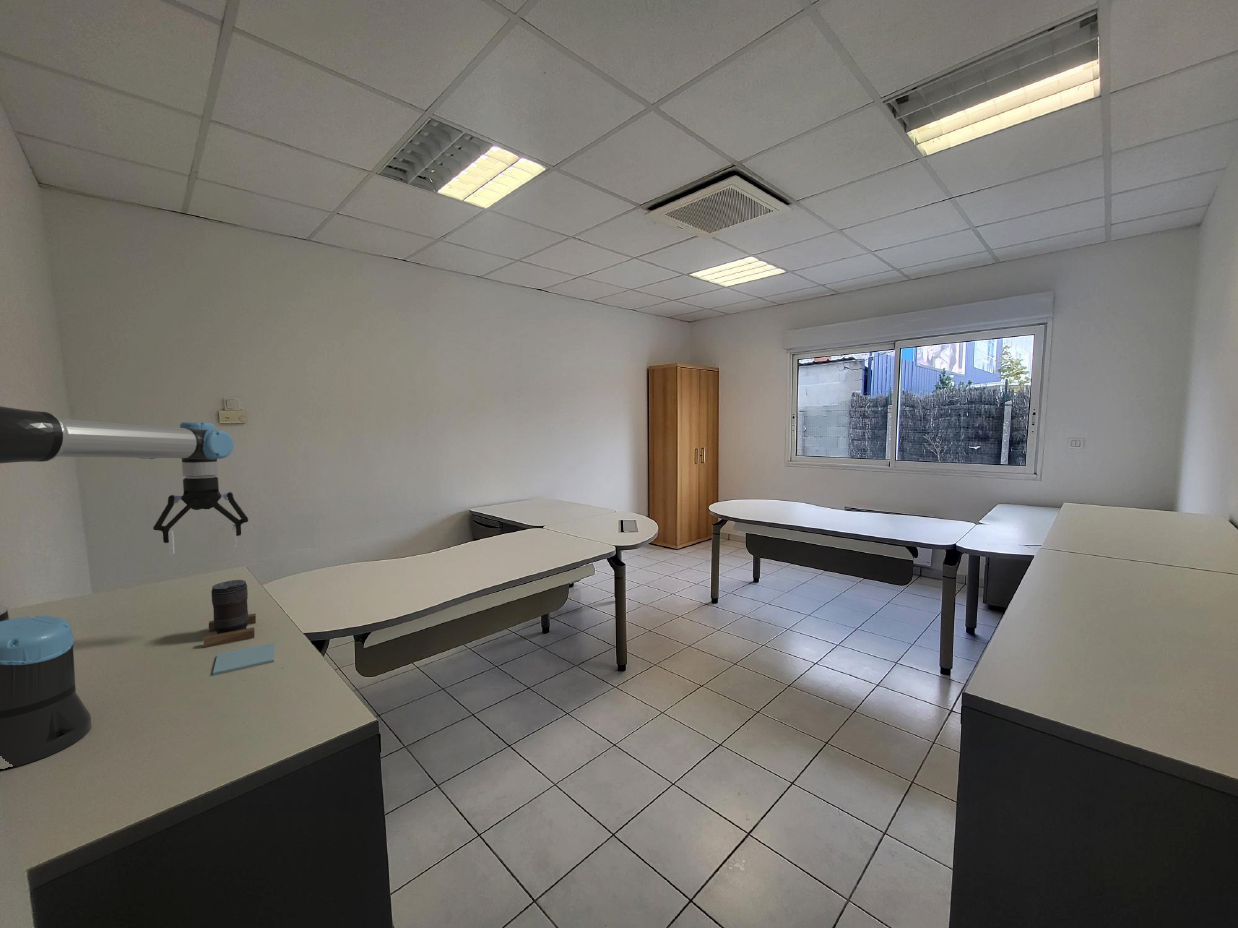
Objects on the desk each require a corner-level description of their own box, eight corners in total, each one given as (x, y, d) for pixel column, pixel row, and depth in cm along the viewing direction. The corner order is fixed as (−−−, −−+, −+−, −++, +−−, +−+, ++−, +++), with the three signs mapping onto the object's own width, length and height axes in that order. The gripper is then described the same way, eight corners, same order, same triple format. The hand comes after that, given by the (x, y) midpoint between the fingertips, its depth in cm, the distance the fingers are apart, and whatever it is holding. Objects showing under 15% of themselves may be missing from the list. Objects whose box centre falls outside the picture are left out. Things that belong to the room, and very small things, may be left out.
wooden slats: (254, 637, 136) (253, 626, 136) (203, 647, 130) (203, 635, 130) (255, 620, 148) (255, 610, 148) (209, 629, 142) (209, 617, 142)
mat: (273, 661, 122) (273, 659, 122) (212, 675, 115) (212, 672, 115) (273, 644, 132) (273, 642, 132) (217, 656, 125) (217, 654, 125)
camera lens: (208, 635, 137) (205, 585, 136) (240, 625, 144) (238, 577, 143) (221, 641, 134) (219, 589, 133) (254, 631, 141) (252, 582, 140)
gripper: (256, 473, 144) (259, 541, 146) (141, 478, 129) (145, 554, 131) (256, 475, 138) (259, 546, 140) (135, 480, 123) (140, 560, 125)
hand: (204, 550), depth 135 cm, fingers open, 13 cm apart
